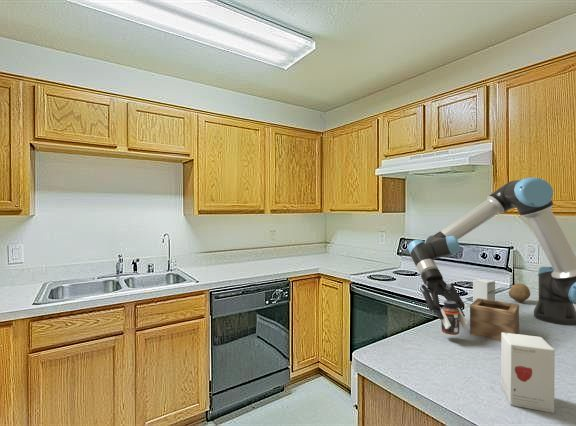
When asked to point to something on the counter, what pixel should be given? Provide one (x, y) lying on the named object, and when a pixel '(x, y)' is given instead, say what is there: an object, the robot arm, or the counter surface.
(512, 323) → the box
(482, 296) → the supplement box
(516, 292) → the natural sponge
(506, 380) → the supplement box
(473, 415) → the counter surface
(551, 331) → the counter surface
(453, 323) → the supplement bottle
